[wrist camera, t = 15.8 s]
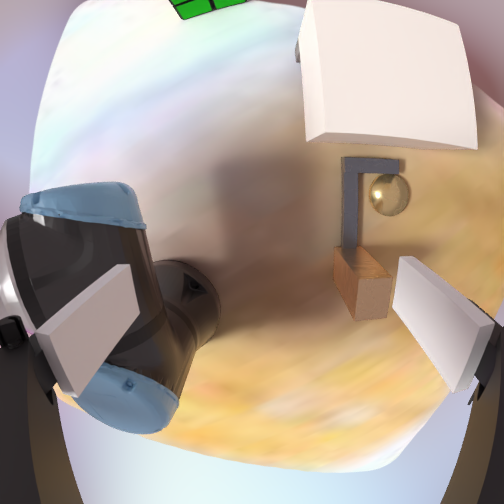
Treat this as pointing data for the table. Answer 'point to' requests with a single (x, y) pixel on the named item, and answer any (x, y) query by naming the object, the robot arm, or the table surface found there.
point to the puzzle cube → (200, 6)
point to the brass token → (388, 194)
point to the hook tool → (360, 248)
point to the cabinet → (384, 77)
